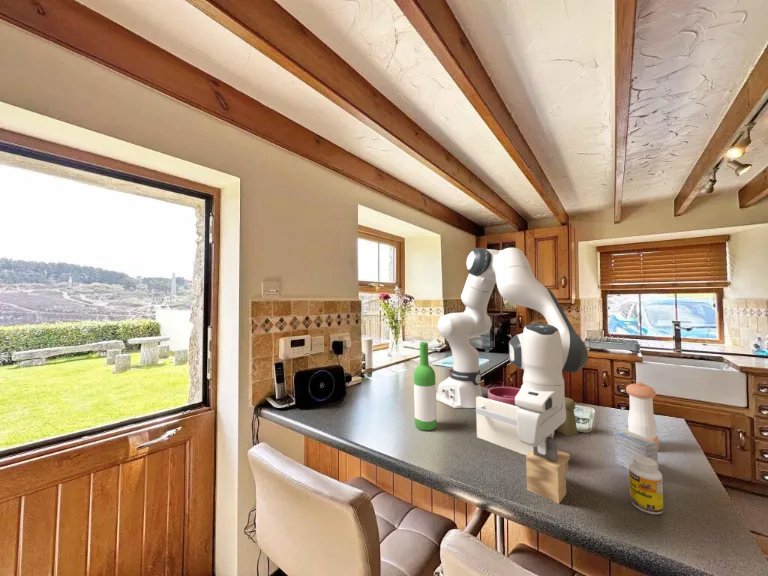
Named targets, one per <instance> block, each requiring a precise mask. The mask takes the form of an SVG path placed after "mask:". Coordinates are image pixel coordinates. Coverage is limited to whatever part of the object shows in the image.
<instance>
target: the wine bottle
mask: <svg viewBox="0 0 768 576" xmlns="http://www.w3.org/2000/svg"><path fill="white" fill-rule="evenodd" d="M436 383H437V382H436V372H435V370H434V369H433V367H432V366H430V364H429V343H428V342H426V341H420V342H419V365H418V366H417V367H416V368H415V370H414V372H413V393H414V394H413V396H414V397H413V400H414V403H413V404H414V425H415V427H416V428H417V429H418V430H421V431H432V430H434V429H435V428H437V424H438V423H437V418H438V417H437V400H436V393H437V390H436V389H437V388H436V387H437V384H436Z"/></svg>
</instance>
